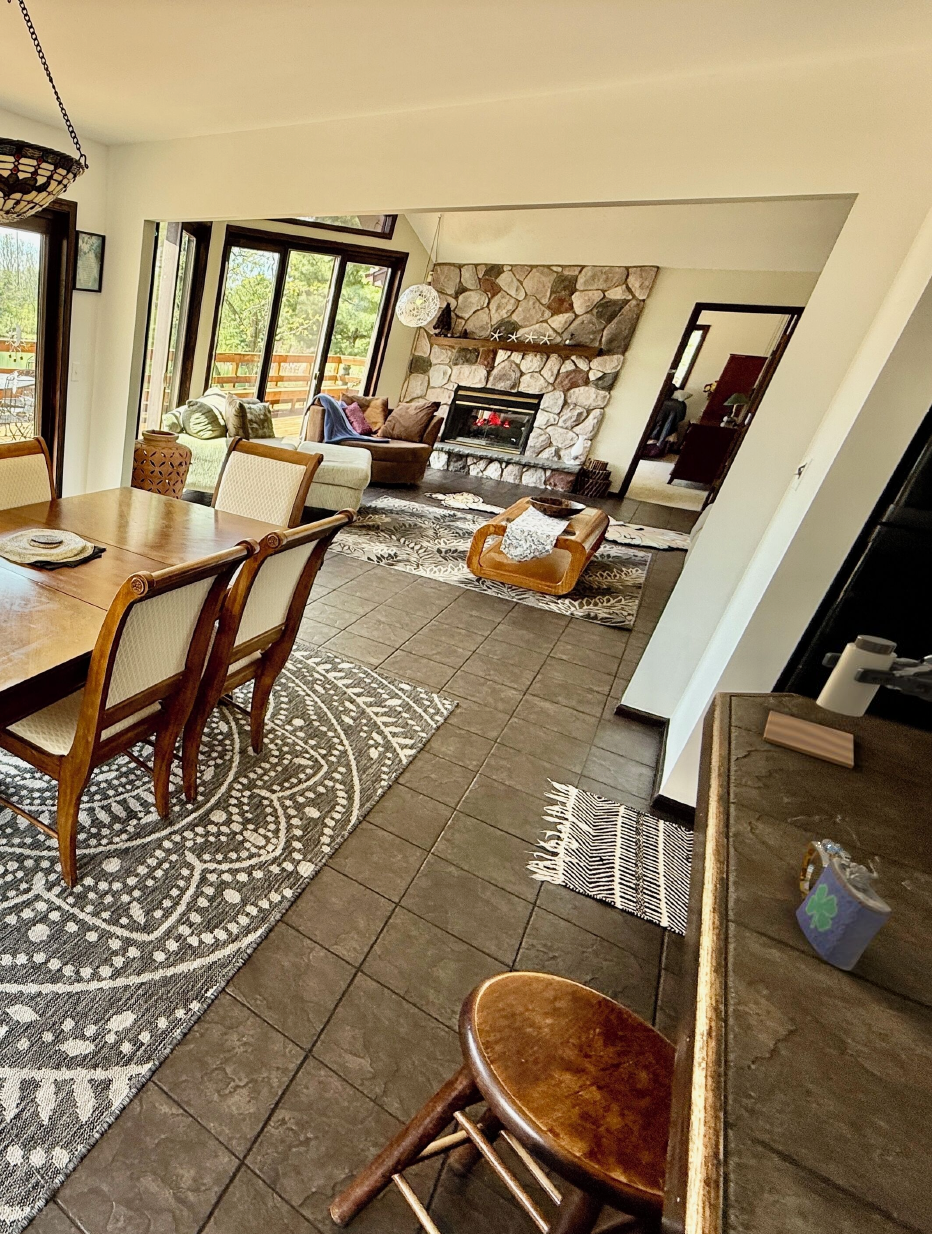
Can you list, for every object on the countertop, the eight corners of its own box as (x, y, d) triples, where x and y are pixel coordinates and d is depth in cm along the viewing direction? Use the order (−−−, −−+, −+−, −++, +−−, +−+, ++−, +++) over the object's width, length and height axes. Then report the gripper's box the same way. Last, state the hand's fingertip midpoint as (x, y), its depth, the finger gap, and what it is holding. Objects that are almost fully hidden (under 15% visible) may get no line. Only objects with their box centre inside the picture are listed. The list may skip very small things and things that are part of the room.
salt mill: (851, 705, 106) (890, 638, 101) (870, 719, 102) (911, 649, 97) (809, 697, 108) (845, 631, 103) (825, 711, 104) (863, 641, 99)
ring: (781, 875, 83) (811, 824, 80) (816, 889, 81) (849, 837, 78) (785, 904, 78) (818, 851, 75) (823, 920, 76) (858, 866, 73)
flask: (853, 980, 68) (908, 901, 64) (815, 967, 69) (867, 889, 65) (817, 921, 76) (864, 848, 72) (783, 910, 77) (827, 838, 73)
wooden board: (851, 768, 109) (854, 764, 109) (762, 740, 116) (764, 736, 116) (851, 738, 119) (853, 734, 119) (769, 713, 126) (770, 710, 126)
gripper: (936, 641, 105) (815, 628, 108) (1037, 680, 92) (897, 664, 95) (911, 682, 108) (794, 669, 110) (1005, 726, 95) (870, 709, 97)
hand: (842, 667), depth 102 cm, fingers closed on salt mill, 5 cm apart
